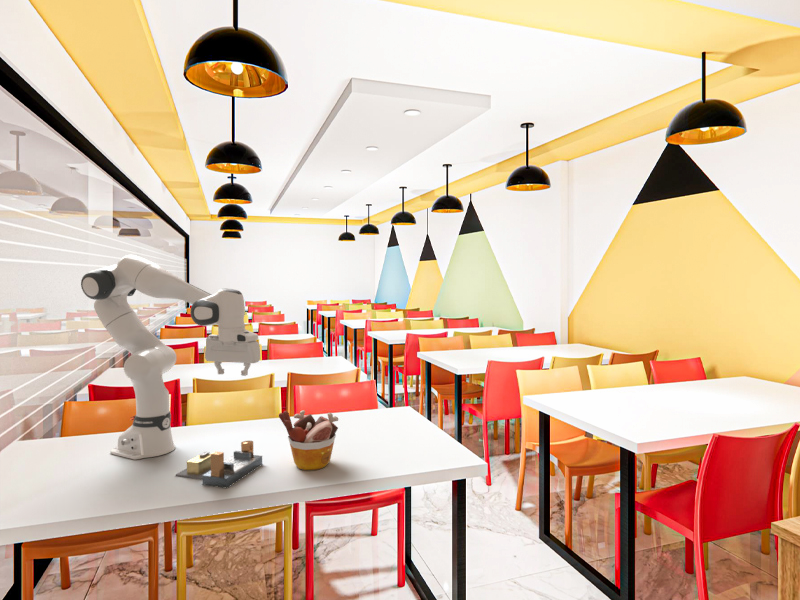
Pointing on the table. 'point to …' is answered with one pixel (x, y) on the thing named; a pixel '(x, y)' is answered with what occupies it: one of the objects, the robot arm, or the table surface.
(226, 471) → the hand plane
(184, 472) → the mat
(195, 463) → the tan rectangular block
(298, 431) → the fried chicken
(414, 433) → the table surface
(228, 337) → the robot arm
